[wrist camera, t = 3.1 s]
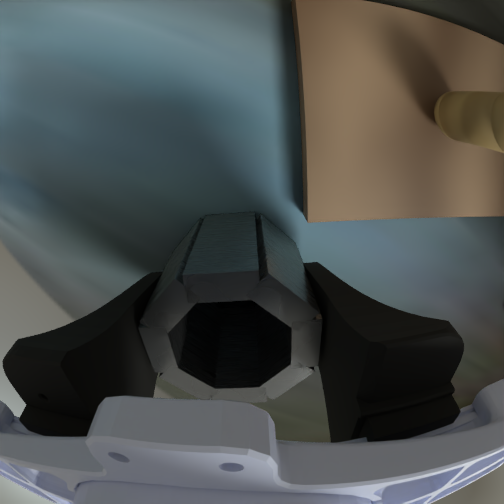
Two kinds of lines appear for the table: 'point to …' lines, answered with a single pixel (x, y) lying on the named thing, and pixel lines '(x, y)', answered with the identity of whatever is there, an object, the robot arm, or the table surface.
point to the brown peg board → (397, 114)
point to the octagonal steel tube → (233, 312)
